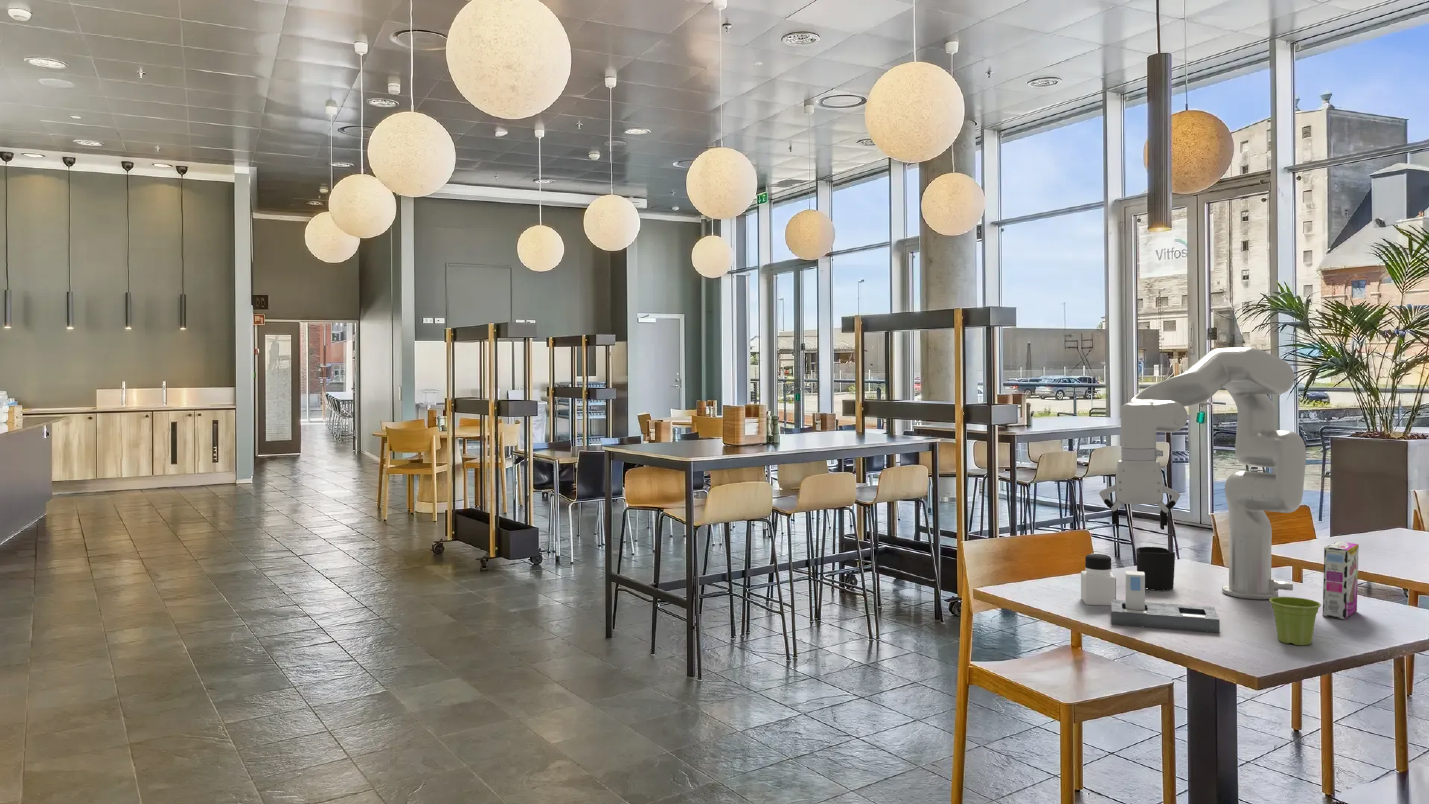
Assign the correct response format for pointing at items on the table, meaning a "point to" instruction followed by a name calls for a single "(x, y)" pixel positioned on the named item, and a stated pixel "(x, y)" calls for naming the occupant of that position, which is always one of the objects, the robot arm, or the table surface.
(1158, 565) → the pen holder
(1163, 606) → the jack panel
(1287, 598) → the plant pot
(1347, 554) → the candy bar box
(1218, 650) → the table surface
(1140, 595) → the plug
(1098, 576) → the medicine bottle
